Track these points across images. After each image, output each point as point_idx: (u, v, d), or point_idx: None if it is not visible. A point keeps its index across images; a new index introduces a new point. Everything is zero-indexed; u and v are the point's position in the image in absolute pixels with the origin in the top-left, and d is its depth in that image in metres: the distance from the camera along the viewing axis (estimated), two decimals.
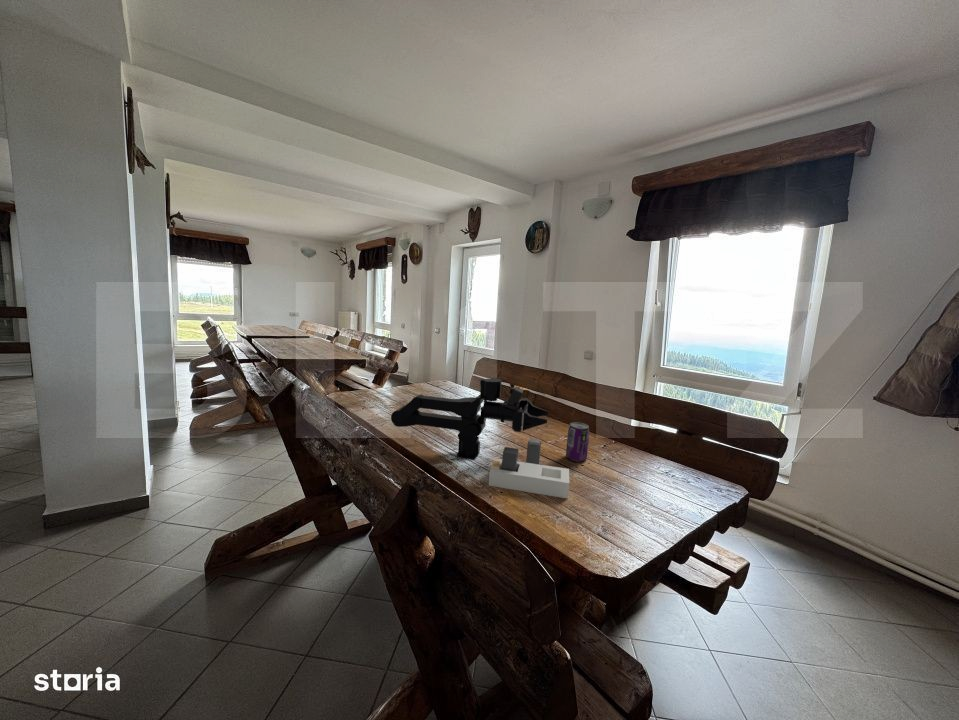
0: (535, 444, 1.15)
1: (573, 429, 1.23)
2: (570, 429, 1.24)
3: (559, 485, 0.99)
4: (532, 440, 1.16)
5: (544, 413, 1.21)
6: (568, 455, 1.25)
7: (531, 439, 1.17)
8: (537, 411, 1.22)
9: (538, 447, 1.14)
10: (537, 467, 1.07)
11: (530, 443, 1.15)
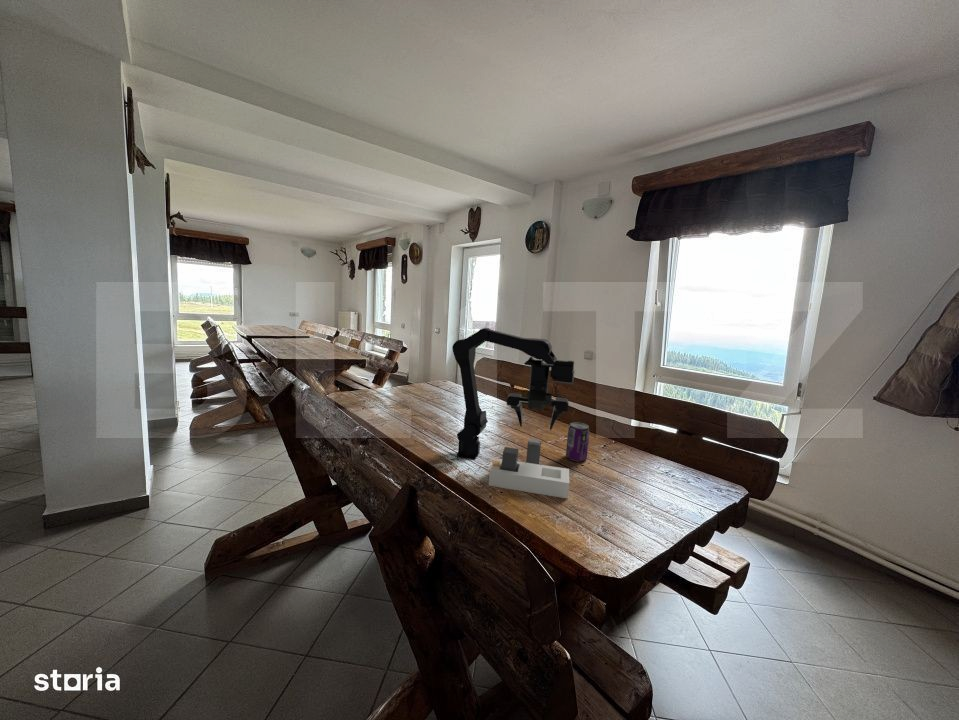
0: (535, 444, 1.15)
1: (573, 429, 1.23)
2: (570, 429, 1.24)
3: (559, 485, 0.99)
4: (532, 440, 1.16)
5: (550, 425, 1.15)
6: (568, 455, 1.25)
7: (531, 439, 1.17)
8: (551, 419, 1.14)
9: (538, 447, 1.14)
10: (537, 467, 1.07)
11: (530, 443, 1.15)
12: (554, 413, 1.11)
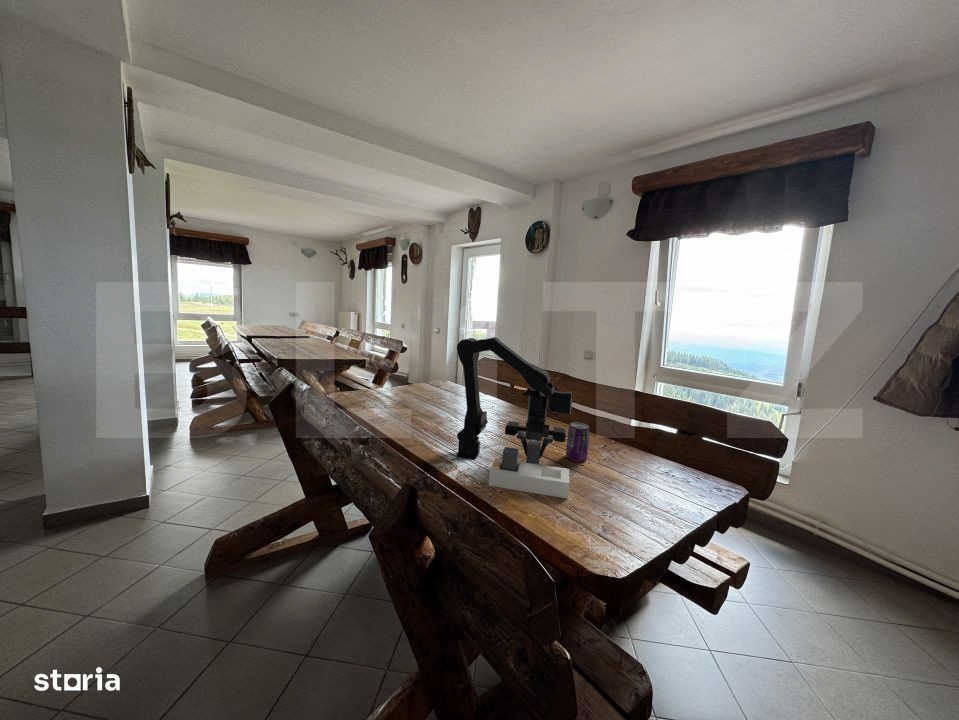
0: (535, 444, 1.15)
1: (573, 429, 1.23)
2: (570, 429, 1.24)
3: (559, 485, 0.99)
4: (532, 440, 1.16)
5: None
6: (568, 455, 1.25)
7: None
8: (541, 447, 1.16)
9: (538, 447, 1.14)
10: (537, 467, 1.07)
11: (530, 443, 1.15)
12: (544, 442, 1.13)
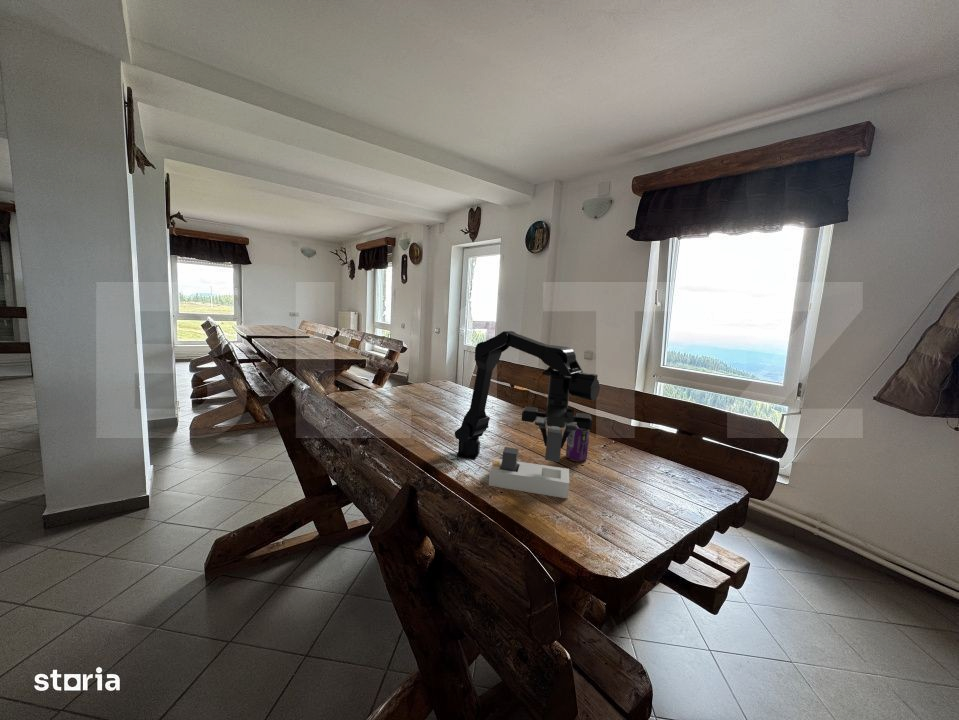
0: (556, 432, 1.01)
1: None
2: None
3: (559, 485, 0.99)
4: (552, 427, 1.02)
5: None
6: (568, 455, 1.25)
7: (551, 426, 1.03)
8: (562, 436, 1.02)
9: (560, 435, 1.00)
10: (537, 467, 1.07)
11: (550, 431, 1.01)
12: (566, 430, 0.99)
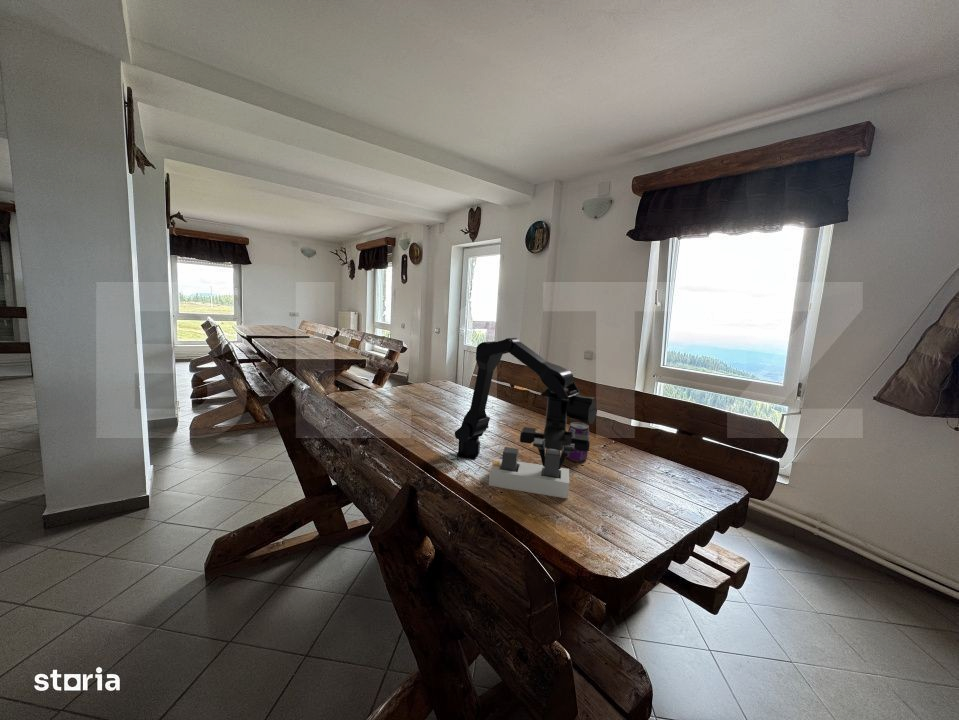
0: (554, 453, 1.02)
1: (573, 429, 1.23)
2: (570, 429, 1.24)
3: (559, 485, 0.99)
4: None
5: None
6: (568, 455, 1.25)
7: None
8: (560, 457, 1.03)
9: (558, 456, 1.01)
10: (537, 467, 1.07)
11: (548, 452, 1.02)
12: (564, 451, 1.00)
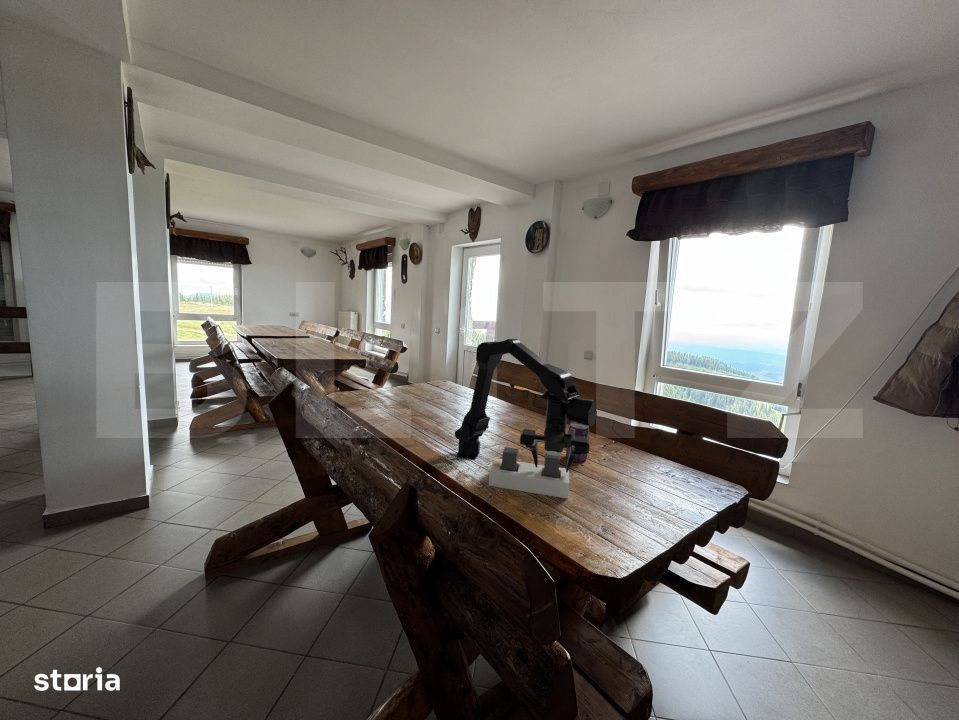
0: (554, 457, 1.02)
1: (573, 429, 1.23)
2: (570, 429, 1.24)
3: (559, 485, 0.99)
4: (550, 453, 1.03)
5: (566, 467, 1.03)
6: (568, 455, 1.25)
7: (549, 451, 1.04)
8: (568, 460, 1.03)
9: (557, 461, 1.01)
10: (537, 467, 1.07)
11: (548, 456, 1.02)
12: (571, 454, 1.00)
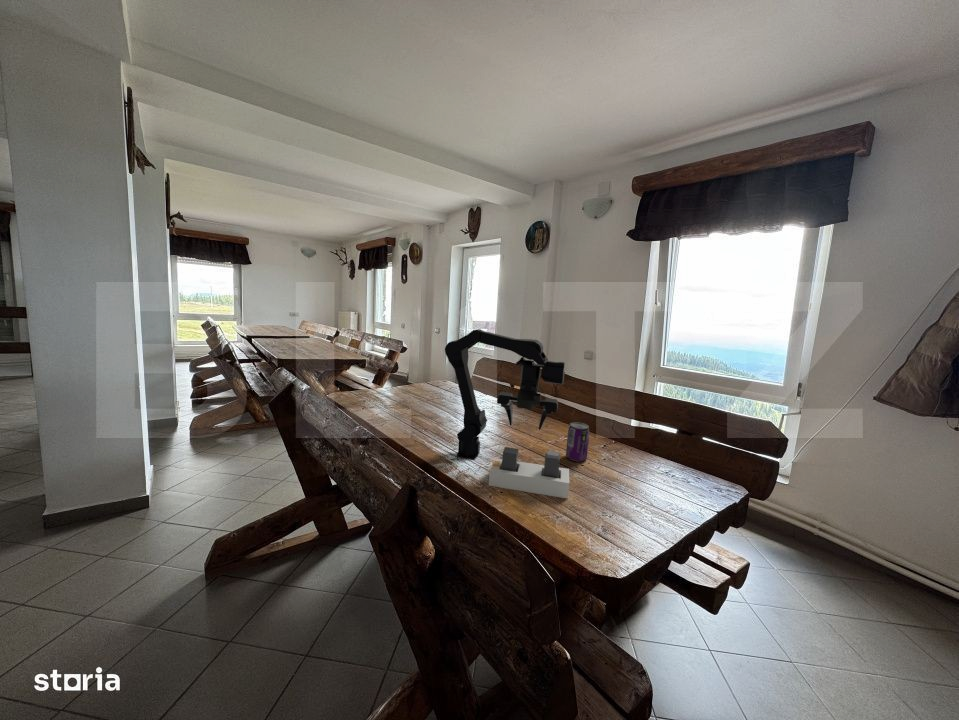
0: (554, 457, 1.02)
1: (573, 429, 1.23)
2: (570, 429, 1.24)
3: (559, 485, 0.99)
4: (550, 453, 1.03)
5: (539, 425, 1.16)
6: (568, 455, 1.25)
7: (549, 451, 1.04)
8: None
9: (557, 461, 1.01)
10: (537, 467, 1.07)
11: (548, 456, 1.02)
12: (543, 413, 1.13)
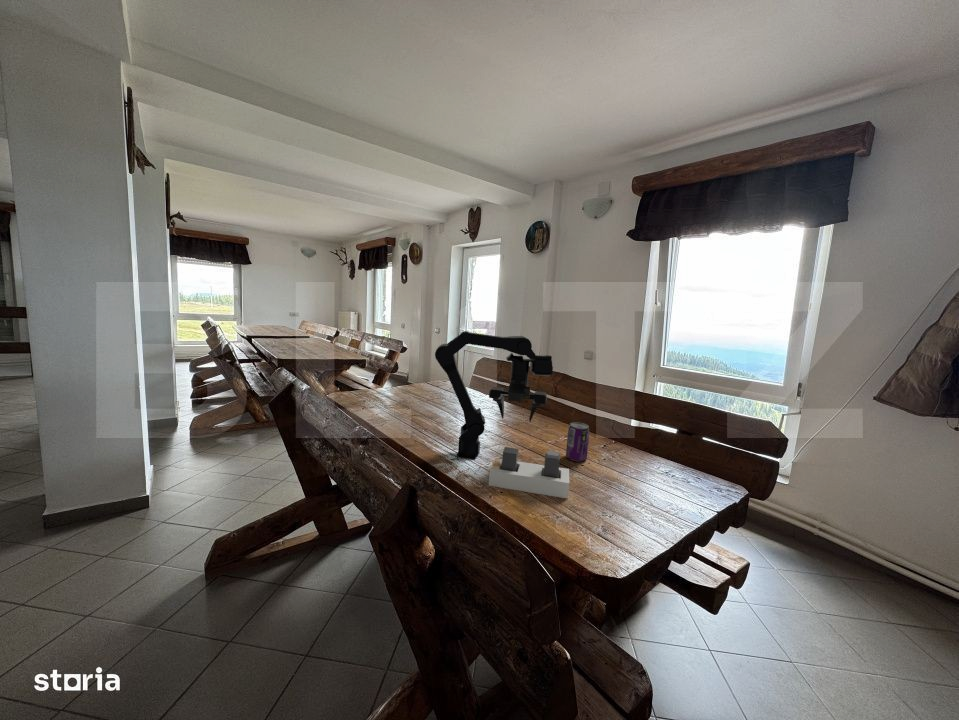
0: (554, 457, 1.02)
1: (573, 429, 1.23)
2: (570, 429, 1.24)
3: (559, 485, 0.99)
4: (550, 453, 1.03)
5: None
6: (568, 455, 1.25)
7: (549, 451, 1.04)
8: None
9: (557, 461, 1.01)
10: (537, 467, 1.07)
11: (548, 456, 1.02)
12: (533, 406, 1.19)
